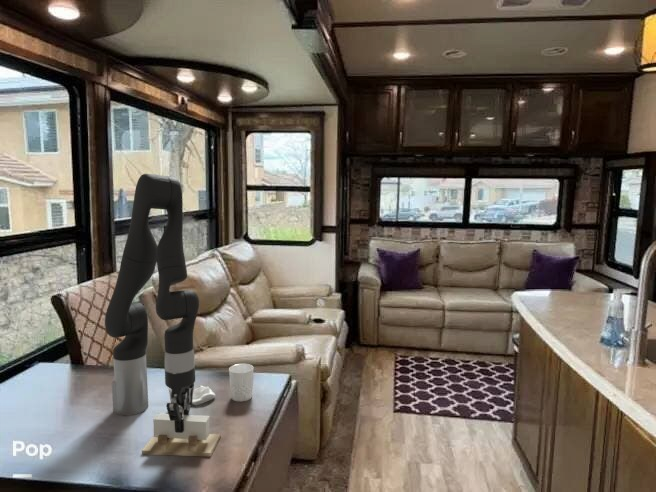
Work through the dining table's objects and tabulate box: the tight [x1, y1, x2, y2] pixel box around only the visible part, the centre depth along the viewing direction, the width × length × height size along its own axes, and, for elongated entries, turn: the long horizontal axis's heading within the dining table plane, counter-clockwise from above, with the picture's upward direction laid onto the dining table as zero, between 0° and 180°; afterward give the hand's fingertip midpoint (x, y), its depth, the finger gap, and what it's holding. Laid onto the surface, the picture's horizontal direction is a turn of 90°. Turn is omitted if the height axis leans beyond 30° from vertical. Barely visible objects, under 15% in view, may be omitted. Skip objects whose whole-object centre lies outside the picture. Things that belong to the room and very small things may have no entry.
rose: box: [192, 384, 216, 406], centre depth 147 cm, size 10×4×10 cm
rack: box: [141, 433, 222, 457], centre depth 121 cm, size 18×9×4 cm, turn 87°
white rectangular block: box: [152, 412, 211, 440], centre depth 120 cm, size 14×3×5 cm, turn 87°
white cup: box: [228, 363, 254, 403], centre depth 149 cm, size 8×8×10 cm
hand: (182, 427), depth 120 cm, fingers closed on white rectangular block, 3 cm apart
